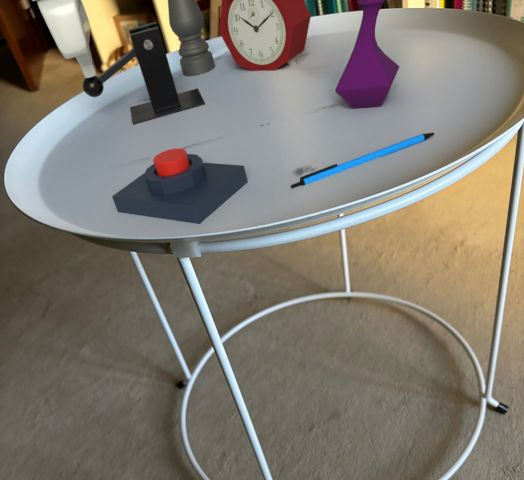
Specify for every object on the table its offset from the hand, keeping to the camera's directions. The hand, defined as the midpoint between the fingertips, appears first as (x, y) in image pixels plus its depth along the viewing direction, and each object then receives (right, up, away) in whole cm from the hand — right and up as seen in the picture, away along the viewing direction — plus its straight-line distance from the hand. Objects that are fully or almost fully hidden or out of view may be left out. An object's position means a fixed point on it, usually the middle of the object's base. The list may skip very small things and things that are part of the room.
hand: (91, 75), depth 92 cm
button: (+16, -22, -23) cm, 35 cm away
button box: (+17, -24, -20) cm, 36 cm away
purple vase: (+42, -8, -9) cm, 44 cm away
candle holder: (+15, +8, +19) cm, 26 cm away
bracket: (+11, -3, +6) cm, 13 cm away
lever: (+5, +1, +1) cm, 5 cm away
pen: (+39, -21, -23) cm, 50 cm away
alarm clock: (+29, +7, +13) cm, 33 cm away
